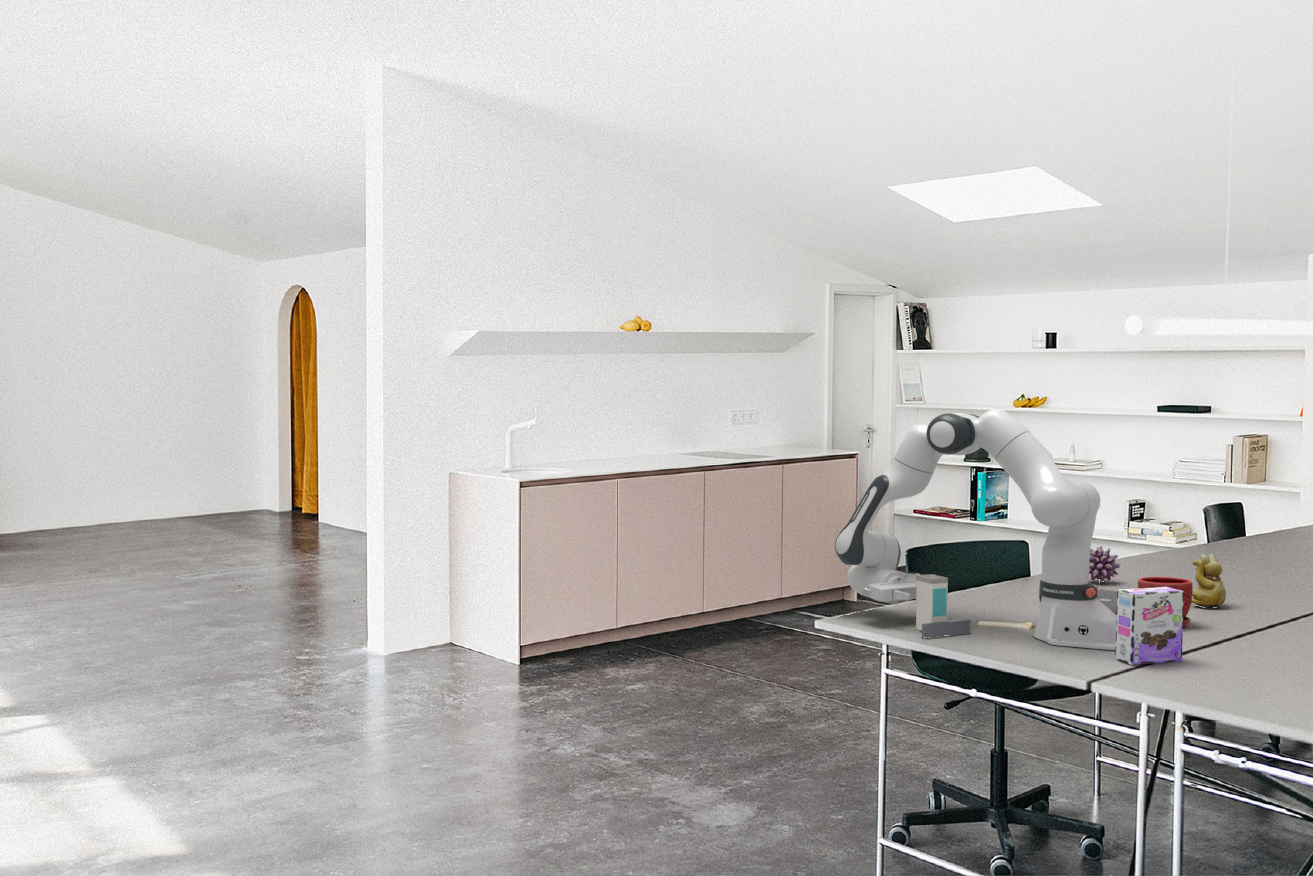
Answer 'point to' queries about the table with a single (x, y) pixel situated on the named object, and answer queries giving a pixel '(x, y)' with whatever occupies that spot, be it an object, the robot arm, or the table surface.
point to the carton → (931, 599)
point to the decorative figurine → (1208, 583)
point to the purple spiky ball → (1102, 564)
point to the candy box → (1149, 625)
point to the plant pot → (1175, 584)
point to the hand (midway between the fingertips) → (924, 595)
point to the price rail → (946, 628)
